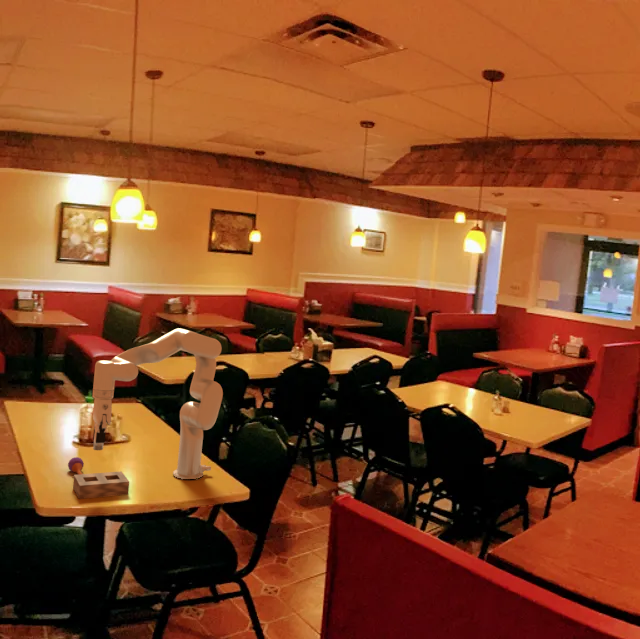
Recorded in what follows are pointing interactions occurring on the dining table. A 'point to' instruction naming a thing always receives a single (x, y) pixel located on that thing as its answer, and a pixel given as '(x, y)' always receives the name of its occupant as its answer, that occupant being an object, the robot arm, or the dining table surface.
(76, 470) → the kendama
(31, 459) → the dining table surface
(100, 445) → the steel pin
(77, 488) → the walnut block
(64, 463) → the dining table surface
